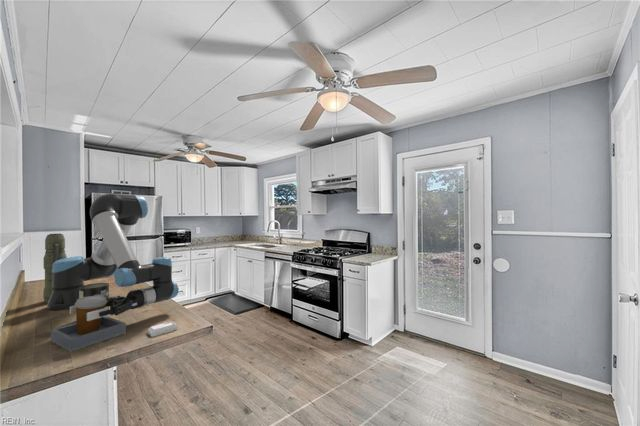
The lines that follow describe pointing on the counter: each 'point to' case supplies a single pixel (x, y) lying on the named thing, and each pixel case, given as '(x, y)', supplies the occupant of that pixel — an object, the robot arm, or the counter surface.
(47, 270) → the thermos
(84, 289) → the coffee can
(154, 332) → the white light switch
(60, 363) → the counter surface
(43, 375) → the counter surface
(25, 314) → the counter surface
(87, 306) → the disposable coffee cup
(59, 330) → the square open box
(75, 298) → the robot arm
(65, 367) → the counter surface
